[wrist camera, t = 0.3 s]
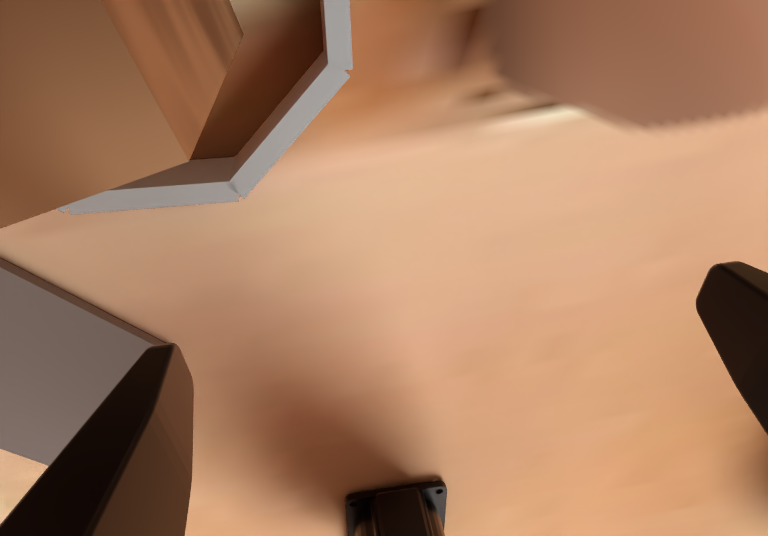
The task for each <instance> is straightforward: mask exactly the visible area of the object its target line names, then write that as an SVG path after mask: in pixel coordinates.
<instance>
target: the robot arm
mask: <svg viewBox="0 0 768 536" xmlns="http://www.w3.org/2000/svg"><path fill="white" fill-rule="evenodd" d="M696 309H697V312H698V314H699V316H700V318H701V320H702V322H703V324H704V326H705V328H706V330H707V332H708V334H709V336H710V337H711V339H712V341H713V343H714V345H715V347H716V349H717V351H718V353H719V355H720V357H721V359H722V361H723V363H724V365H725V366H726V368H727V370H728V372H729V374H730V376H731V378H732V380H733V381H734V383H735V385H736V387H737V389H738V390H739V392H740V393H741V395H742V397H743V398H744V400H745V401H746V403H747V404H748V406H749V408H750V409H751V411H752V412H753V414H754V415H755V417H756V418H757V420H758V421H759V423H760V424H761V426H762V427H763V429H764V430H765V432H766V434H767V435H768V273H766V272H764V271H762V270H759V269H757V268H754V267H752V266H750V265H747V264H745V263H742V262H738V261H733V262H727V263H720V264H716V265H714V266H712V267H711V268H710V270H709V271H708V274H707V276H706V278H705V280H704V282H703V285H702V287H701V289H700V291H699V293H698V296H697V298H696ZM193 398H194V387H193V380H192V376H191V374H190V371H189V369H188V367H187V364H186V362H185V360H184V357H183V355H182V353H181V350H180V348H179V347H178V346H177V345H176V344H175V343H168V344H161V345H155V346H150V347H149V348H147V349H146V350H145V351H144V352H143V353H142V355H141V356H140V357H139V358H138V359H137V361H136V362H135V363H134V364H133V365H132V367H131V368H130V369H129V370H128V371H127V373H126V374H125V375H124V376H123V377H122V379H121V380H120V381H119V382H118V383H117V385H116V386H115V387H114V388H113V389H112V391H111V392H110V393H109V394H108V396H107V397H106V398H105V399H104V400H103V402H102V403H101V404H100V405H99V406H98V408H97V409H96V410H95V411H94V412H93V414H92V415H91V416H90V417H89V418H88V420H87V421H86V422H85V423H84V424H83V426H82V427H81V428H80V429H79V430H78V432H77V433H76V434H75V435H74V437H73V438H72V439H71V440H70V441H69V443H68V444H67V445H66V446H65V447H64V449H63V450H62V451H61V452H60V453H59V455H58V456H57V457H56V458H55V459H54V461H53V462H52V463H51V464H50V465H49V467H48V468H47V469H46V470H45V471H44V473H43V474H42V475H41V476H40V477H39V479H38V480H37V481H36V482H35V484H34V485H33V486H32V487H31V488H30V490H29V491H28V492H27V493H26V494H25V496H24V497H23V498H22V499H21V500H20V502H19V503H18V504H17V505H16V506H15V508H14V509H13V510H12V511H11V512H10V514H9V515H8V516H7V517H6V518H5V520H4V521H3V522H2V523H1V524H0V536H185V528H186V521H187V514H188V507H189V499H190V491H191V482H192V456H193ZM446 497H447V488H446V485H445V483H444V482H443V481H435V482H428V483H422V484H415V485H408V486H401V487H395V488H388V489H381V490H374V491H367V492H361V493H354V494H350V495H348V496H347V497H346V498H345V506H346V517H347V527H348V536H445V534H444V523H445V510H446Z"/></svg>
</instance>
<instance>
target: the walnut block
mask: <svg viewBox="0 0 768 536" xmlns="http://www.w3.org/2000/svg"><path fill="white" fill-rule="evenodd" d="M242 37H243V32H242V30H241V27H240V25H239V23H238V20H237V18H236V16H235V13H234V11H233V8H232V6H231V4H230V1H229V0H0V228H3V227H6V226H9V225H11V224H14V223H17V222H20V221H23V220H26V219H28V218H31V217H34V216H37V215H40V214H42V213H45V212H48V211H51V210H54V209H56V208H59V207H62V206H65V205H68V204H71V203H73V202H76V201H79V200H82V199H85V198H87V197H90V196H93V195H96V194H99V193H101V192H104V191H107V190H110V189H113V188H116V187H118V186H121V185H124V184H127V183H130V182H132V181H135V180H138V179H141V178H144V177H146V176H149V175H152V174H155V173H158V172H161V171H163V170H166V169H169V168H172V167H175V166H177V165H180V164H183V163H186V162H189V160H190V158H191V156H192V153H193V151H194V149H195V146H196V144H197V142H198V139H199V137H200V135H201V132H202V130H203V128H204V125H205V123H206V121H207V118H208V116H209V114H210V111H211V109H212V107H213V104H214V102H215V100H216V97H217V95H218V93H219V90H220V88H221V86H222V83H223V81H224V79H225V76H226V74H227V72H228V69H229V67H230V65H231V62H232V60H233V58H234V55H235V53H236V51H237V48H238V46H239V44H240V41H241V39H242Z"/></svg>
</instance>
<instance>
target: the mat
mask: <svg viewBox="0 0 768 536" xmlns="http://www.w3.org/2000/svg"><path fill="white" fill-rule="evenodd" d="M161 344H166V343H165V342H163V341H161V340H159V339H157V338H155V337H153V336H151V335H149V334H147V333H145V332H143V331H141V330H139V329H137V328H135V327H133V326H131V325H129V324H128V323H126V322H124V321H122V320H120V319H118V318H116V317H114V316H112V315H110V314H108V313H106V312H104V311H102V310H100V309H98V308H96V307H94V306H93V305H91V304H89V303H87V302H85V301H83V300H81V299H79V298H77V297H75V296H73V295H71V294H69V293H67V292H65V291H63V290H61V289H59V288H57V287H56V286H54V285H52V284H50V283H48V282H46V281H44V280H42V279H40V278H38V277H36V276H34V275H32V274H30V273H28V272H26V271H24V270H22V269H20V268H19V267H17V266H15V265H13V264H11V263H9V262H7V261H5V260H3V259H1V258H0V449H3V450H6V451H9V452H12V453H14V454H17V455H20V456H23V457H26V458H28V459H31V460H34V461H37V462H40V463H43V464H45V465H48V466H49V465H50V464H51V463H52V462H53V461H54V459H55V458H56V457H57V456H58V455H59V453H60V452H61V451H62V450H63V449H64V447H65V446H66V445H67V444H68V443H69V441H70V440H71V439H72V438H73V437H74V435H75V434H76V433H77V432H78V430H79V429H80V428H81V427H82V426H83V424H84V423H85V422H86V421H87V420H88V418H89V417H90V416H91V415H92V414H93V412H94V411H95V410H96V409H97V408H98V406H99V405H100V404H101V403H102V402H103V400H104V399H105V398H106V397H107V396H108V394H109V393H110V392H111V391H112V389H113V388H114V387H115V386H116V385H117V383H118V382H119V381H120V380H121V379H122V377H123V376H124V375H125V374H126V373H127V371H128V370H129V369H130V368H131V367H132V365H133V364H134V363H135V362H136V361H137V359H138V358H139V357H140V356H141V355H142V353H143V352H144V351H145V350H146V349H147V348H149V347H150V346H155V345H161Z"/></svg>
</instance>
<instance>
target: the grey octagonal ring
mask: <svg viewBox="0 0 768 536" xmlns="http://www.w3.org/2000/svg"><path fill="white" fill-rule="evenodd" d="M320 6H321V19H322V33H323V46H324V50H323V52H322V53H321V54H320V55H319V56H318V58H317V59H316V60H315V61H314V62H313V64H312V65H311V66H310V67H309V68H308V70H307V71H306V72H305V73H304V74H303V76H302V77H301V78H300V79H299V80H298V82H297V83H296V84H295V85H294V86H293V88H292V89H291V90H290V91H289V92H288V94H287V95H286V96H285V97H284V99H283V100H282V101H281V102H280V103H279V105H278V106H277V107H276V108H275V109H274V111H273V112H272V113H271V114H270V115H269V117H268V118H267V119H266V120H265V121H264V123H263V124H262V125H261V126H260V127H259V129H258V130H257V131H256V132H255V133H254V135H253V136H252V137H251V138H250V139H249V141H248V142H247V143H246V144H245V145H244V147H243V148H242V149H241V150H240V151H239V153H238V154H237V155H236V156H235V157H225V158H211V159H196V160H189V162H186V163H183V164H180V165H177V166H175V167H172V168H169V169H166V170H163V171H161V172H158V173H155V174H152V175H149V176H146V177H144V178H141V179H138V180H135V181H132V182H130V183H127V184H124V185H121V186H118V187H116V188H113V189H110V190H107V191H104V192H101V193H99V194H96V195H93V196H90V197H87V198H85V199H82V200H79V201H76V202H73V203H71V204H68V205H65V206H62V207H59V208H56V209H58V210H59V211H61V212H63V213H64V212H65V211H66V210H67V208H69V211H70V214H71V215H74V214H86V213H99V212H112V211H124V210H137V209H149V208H162V207H175V206H187V205H200V204H212V203H225V202H238V201H239V198H240V196H241V197H243V198H244V199H245V197H246V196H247V195H248V194H249V193H250V192H251V191H252V189H253V188H254V187H255V186H256V185H257V184H258V182H259V181H260V180H261V179H262V178H263V177H264V176H265V174H266V173H267V172H268V171H269V170H270V169H271V167H272V166H273V165H274V164H275V163H276V162H277V161H278V159H279V158H280V157H281V156H282V155H283V154H284V152H285V151H286V150H287V149H288V148H289V147H290V146H291V144H292V143H293V142H294V141H295V140H296V139H297V137H298V136H299V135H300V134H301V133H302V132H303V131H304V129H305V128H306V127H307V126H308V125H309V124H310V122H311V121H312V120H313V119H314V118H315V117H316V115H317V114H318V113H319V112H320V111H321V110H322V109H323V107H324V106H325V105H326V104H327V103H328V102H329V100H330V99H331V98H332V97H333V96H334V95H335V94H336V92H337V91H338V90H339V89H340V88H341V87H342V85H343V84H344V83H345V82H346V81H347V80H348V79H349V77H350V74H349V72H348V70H352V69H353V63H352V42H351V20H350V0H320Z"/></svg>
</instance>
